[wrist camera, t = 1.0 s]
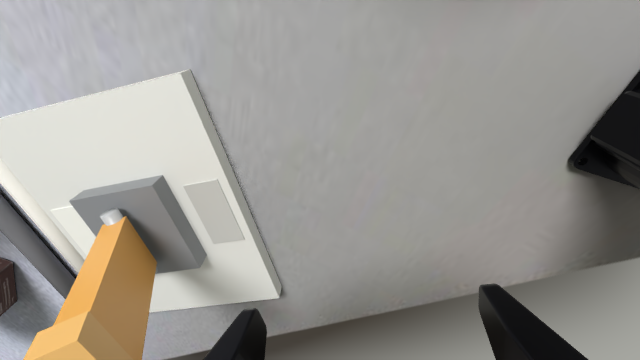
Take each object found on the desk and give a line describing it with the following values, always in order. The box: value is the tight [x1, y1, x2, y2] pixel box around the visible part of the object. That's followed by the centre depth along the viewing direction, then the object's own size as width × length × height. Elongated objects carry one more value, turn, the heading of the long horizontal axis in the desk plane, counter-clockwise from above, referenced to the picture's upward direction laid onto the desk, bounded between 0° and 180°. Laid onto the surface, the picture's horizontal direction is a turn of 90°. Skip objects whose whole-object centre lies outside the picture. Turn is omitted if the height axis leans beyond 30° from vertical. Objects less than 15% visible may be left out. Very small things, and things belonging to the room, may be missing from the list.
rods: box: [0, 158, 85, 299], centre depth 24 cm, size 17×5×1 cm, turn 13°
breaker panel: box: [0, 69, 282, 313], centre depth 22 cm, size 14×18×2 cm
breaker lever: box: [23, 208, 158, 360], centre depth 16 cm, size 2×5×10 cm, turn 14°
